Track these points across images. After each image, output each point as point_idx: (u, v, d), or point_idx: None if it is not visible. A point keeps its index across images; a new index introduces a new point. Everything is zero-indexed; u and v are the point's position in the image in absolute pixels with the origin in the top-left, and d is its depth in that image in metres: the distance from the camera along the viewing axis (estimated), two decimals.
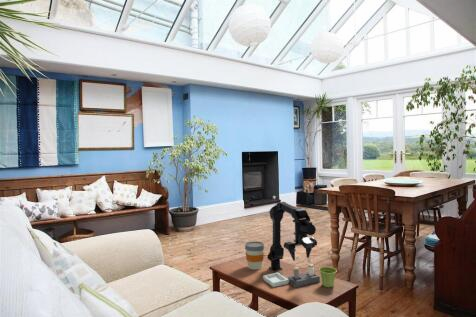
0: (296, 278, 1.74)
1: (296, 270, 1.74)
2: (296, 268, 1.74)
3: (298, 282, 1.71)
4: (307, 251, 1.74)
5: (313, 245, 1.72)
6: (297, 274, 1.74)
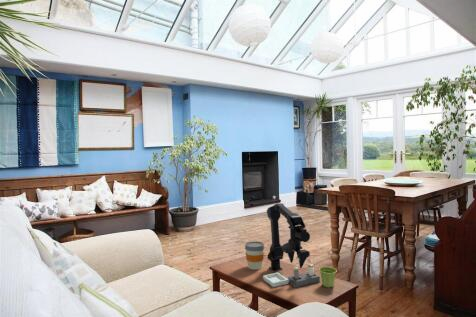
0: (296, 278, 1.74)
1: (296, 270, 1.74)
2: (296, 268, 1.74)
3: (298, 282, 1.71)
4: None
5: (297, 256, 1.68)
6: (297, 274, 1.74)
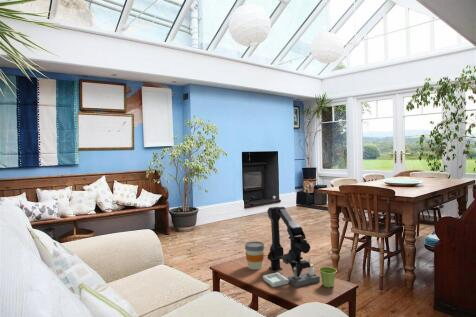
0: (296, 278, 1.74)
1: None
2: None
3: (298, 282, 1.71)
4: None
5: (298, 266, 1.68)
6: None
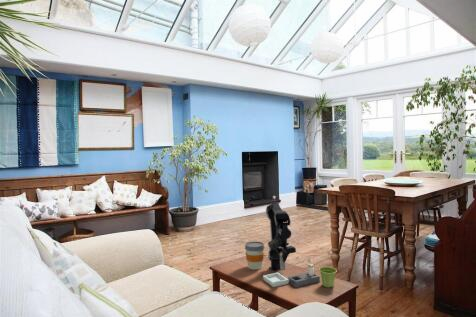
0: (282, 263, 1.76)
1: None
2: None
3: (298, 282, 1.71)
4: None
5: (284, 252, 1.70)
6: None
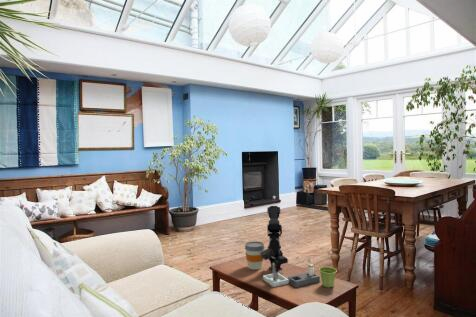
0: (274, 273, 1.77)
1: None
2: None
3: (298, 282, 1.71)
4: None
5: (276, 262, 1.72)
6: None
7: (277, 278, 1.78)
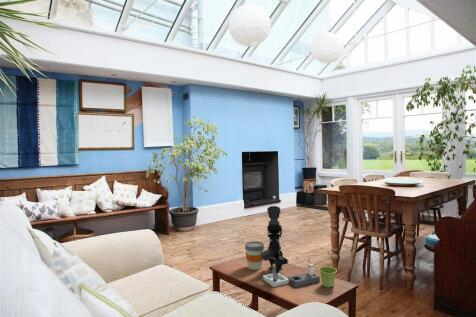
0: (274, 275, 1.78)
1: (275, 267, 1.77)
2: None
3: (298, 282, 1.71)
4: None
5: (276, 263, 1.72)
6: None
7: (277, 279, 1.78)
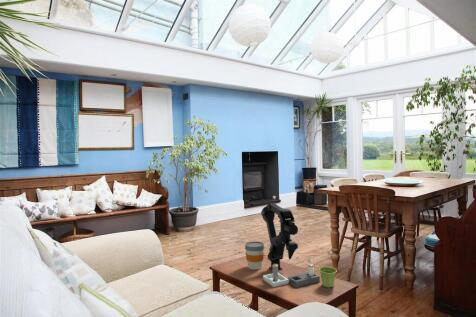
0: (274, 275, 1.77)
1: (275, 267, 1.77)
2: (275, 265, 1.78)
3: (298, 282, 1.71)
4: None
5: (286, 248, 1.77)
6: (276, 271, 1.77)
7: (277, 279, 1.78)
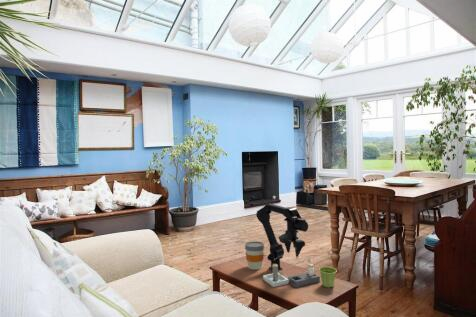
0: (274, 275, 1.77)
1: (275, 267, 1.77)
2: (275, 265, 1.78)
3: (298, 282, 1.71)
4: None
5: (294, 245, 1.80)
6: (276, 271, 1.77)
7: (277, 279, 1.78)
